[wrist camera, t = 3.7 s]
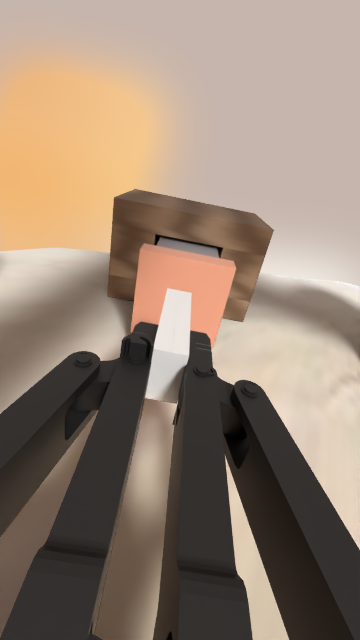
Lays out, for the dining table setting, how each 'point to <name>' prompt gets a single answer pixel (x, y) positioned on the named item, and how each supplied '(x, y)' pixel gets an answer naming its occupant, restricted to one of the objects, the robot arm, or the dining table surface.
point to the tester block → (188, 224)
